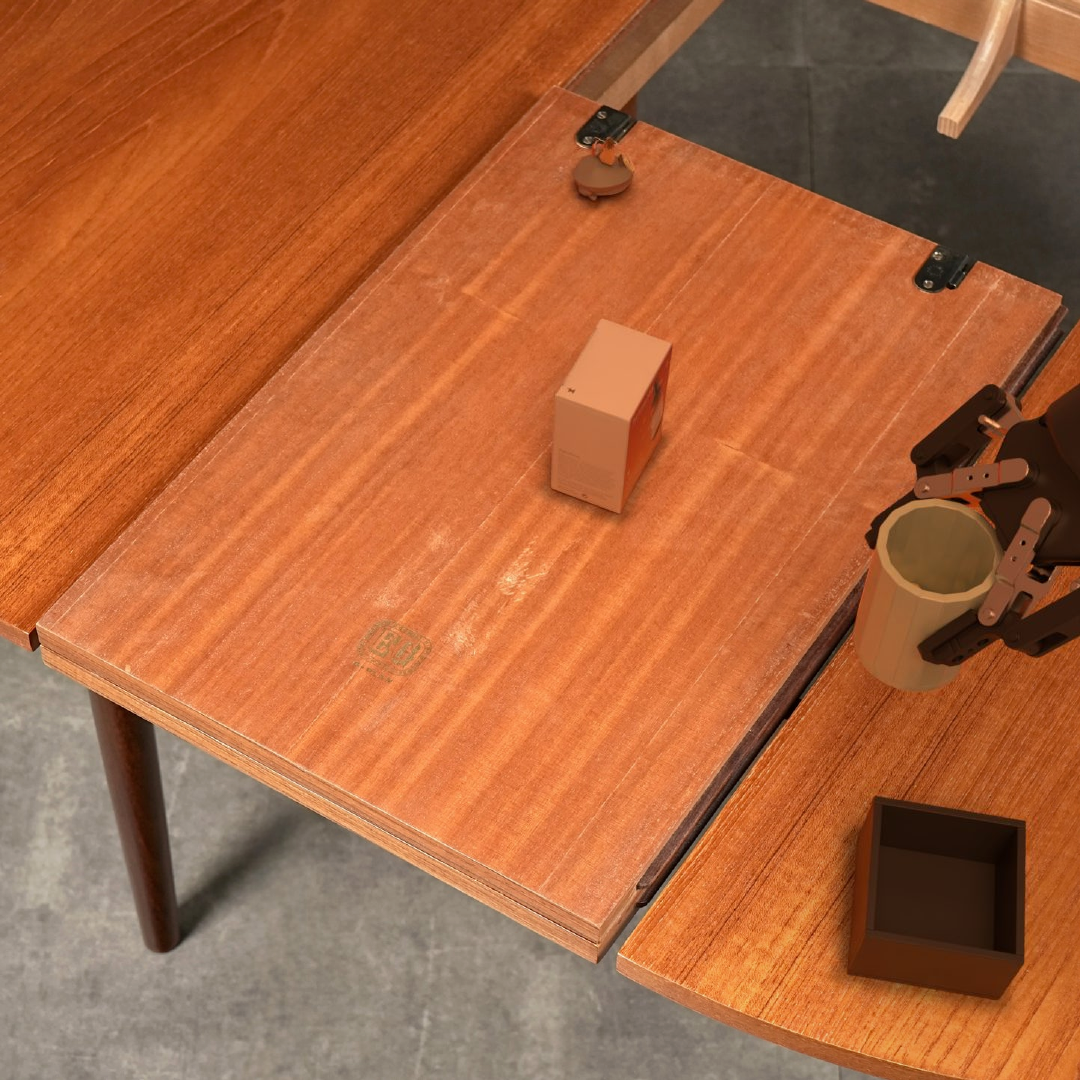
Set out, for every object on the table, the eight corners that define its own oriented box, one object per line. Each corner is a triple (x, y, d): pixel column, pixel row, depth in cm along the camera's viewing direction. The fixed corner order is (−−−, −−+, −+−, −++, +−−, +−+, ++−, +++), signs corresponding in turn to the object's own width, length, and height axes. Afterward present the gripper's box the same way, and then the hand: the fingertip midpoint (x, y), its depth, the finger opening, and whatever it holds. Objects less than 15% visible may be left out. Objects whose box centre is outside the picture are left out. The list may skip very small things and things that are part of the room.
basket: (998, 1000, 101) (1024, 963, 96) (847, 974, 101) (865, 936, 97) (1001, 862, 106) (1026, 820, 101) (857, 838, 107) (874, 795, 102)
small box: (620, 517, 120) (629, 424, 112) (548, 489, 121) (552, 395, 113) (663, 437, 124) (675, 341, 116) (593, 411, 126) (600, 314, 117)
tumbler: (976, 607, 95) (1010, 513, 88) (961, 703, 92) (996, 613, 84) (862, 583, 96) (887, 487, 89) (844, 677, 93) (868, 585, 85)
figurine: (577, 210, 138) (580, 154, 133) (566, 173, 140) (569, 116, 135) (640, 202, 138) (646, 146, 133) (628, 165, 141) (633, 109, 136)
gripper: (1067, 281, 83) (810, 477, 91) (1211, 511, 75) (917, 703, 83) (1134, 330, 88) (885, 512, 96) (1275, 550, 81) (992, 728, 89)
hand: (901, 600), depth 90 cm, fingers closed on tumbler, 6 cm apart
